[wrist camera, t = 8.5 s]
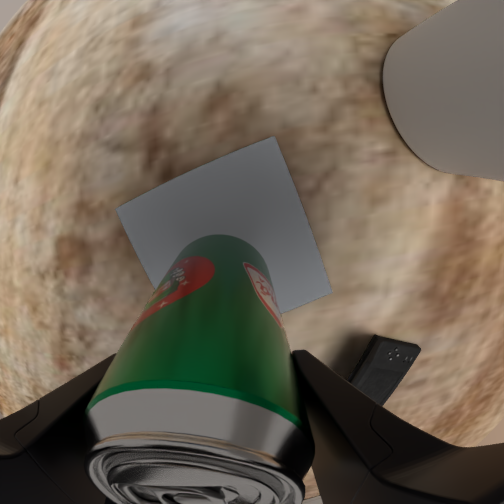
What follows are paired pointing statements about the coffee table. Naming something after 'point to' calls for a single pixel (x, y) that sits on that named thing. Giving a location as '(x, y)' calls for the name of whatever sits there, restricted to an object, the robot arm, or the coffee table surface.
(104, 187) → the coffee table surface
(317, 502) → the small box
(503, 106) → the cylinder vase
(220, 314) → the soda can
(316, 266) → the slate mat
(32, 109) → the coffee table surface
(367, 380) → the handheld gaming console
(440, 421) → the coffee table surface
